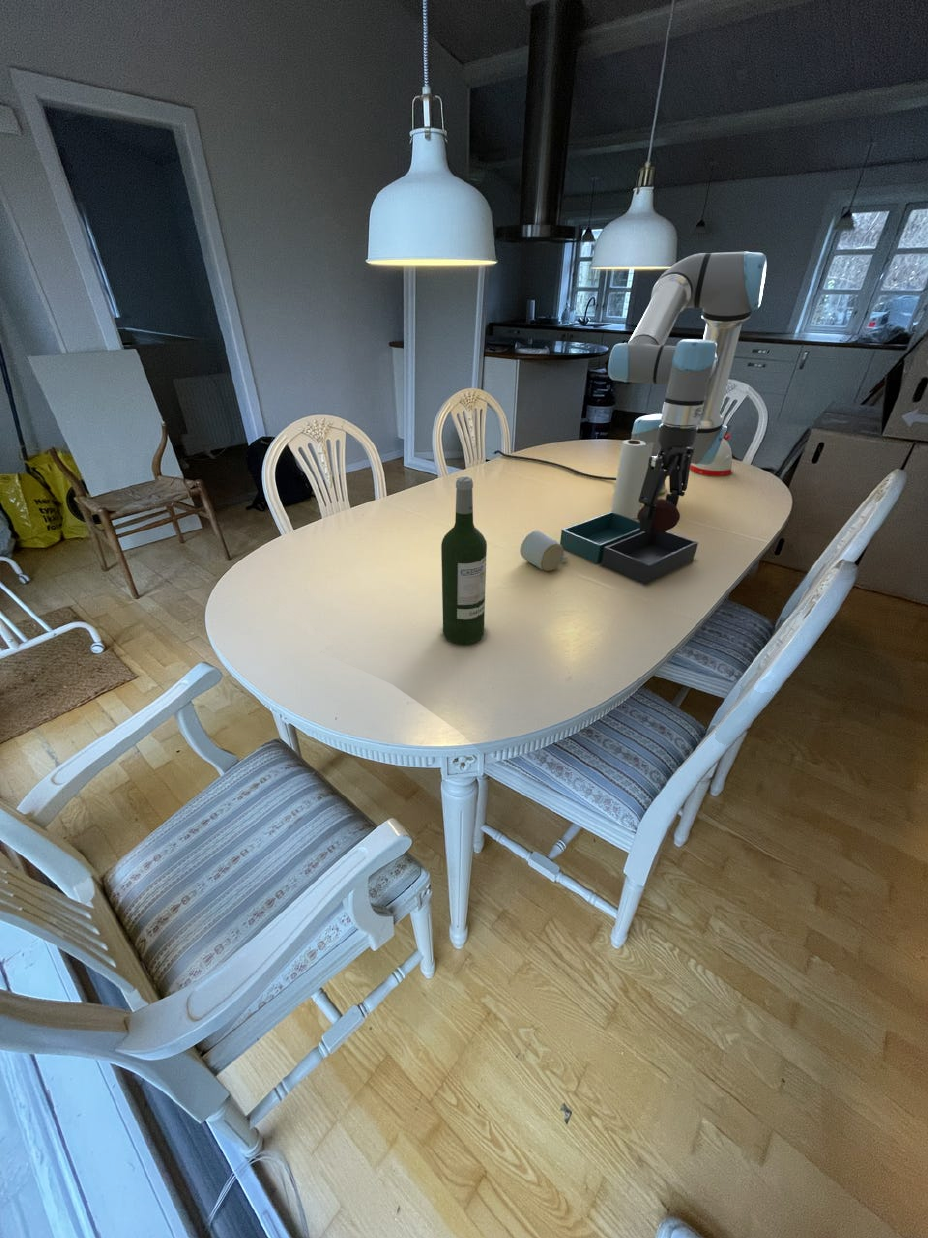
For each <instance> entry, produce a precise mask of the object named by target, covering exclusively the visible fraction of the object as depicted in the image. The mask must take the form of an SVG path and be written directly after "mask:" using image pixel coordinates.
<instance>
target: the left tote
mask: <svg viewBox="0 0 928 1238" xmlns="http://www.w3.org/2000/svg"><path fill="white" fill-rule="evenodd" d="M639 528H640V522H639V520H636V519H635V518H633V519H631V518H628V517H625V516H622V515H619V514H617V513H614V512H611V511H610V512H607V513H604V514H602V515H598V516H596V517H593V518H590V519H587V520H584V521H582V522H579V523H576V524H574V525H571V526H568V527H564V528H562V529H561V531H560V539H559V544H560V545H561V546H562V547H563V550H564V551H567V552H569V553H570V554H573V555H575V556H577V557H580V558H583V559H585V560H587V561H589V562H591V563H593V564H596V565H599V564H602V558H603V552H604V547H606V546H609V545H611V544H614V543H616V542H619V541H621V540H623V539H626V538H628V537H631V536H633V535H636V534H638V533H640V532H643V531H641V530H639Z"/></svg>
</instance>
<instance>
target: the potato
mask: <svg viewBox="0 0 928 1238" xmlns="http://www.w3.org/2000/svg"><path fill="white" fill-rule="evenodd" d="M655 505H657V508H656V513H655V517H654V522H653V526H652V532H665V531H668V532H669V531H670V530H672V529H674V528H675V527H676V526H677V525H678V523H679V521H680V520H681V513H680V511H679V509H678V507H677V508H676V506H675V505H674V504H672V503H671V502H669V501H667V500H666V498H665V499H664V498H657V501H656V503H655ZM643 508H644V505H643V506H641V509H640V510H639V512H638V514H637V517H636V518H637V521H639V522H640V523H641V518H642V513H643Z"/></svg>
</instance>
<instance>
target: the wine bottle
mask: <svg viewBox="0 0 928 1238" xmlns="http://www.w3.org/2000/svg"><path fill="white" fill-rule="evenodd" d="M455 488H456V489H455V491H456V492H455V518H454V519H455V520H454V521H455V523H454V526H453V527H452V528H451V529H450V530H448V531H447V532H446V533H445V534H444V536H443V537H442V539H441V545H440V551H441V552H440V555H441V556H440V557H441V558H440V559H441V560H440V561H441V595H442V596H441V601H442V602H441V605H442V634H443V637H444V638H445V639H446V640H447V641H448V642H450V643H452V644H455V645H461V646H467V645H472V644H476V643H478V642H479V641H480V640H482V638H483V637H484V635H485V616H486V615H485V613H486V610H485V609H486V589H487V588H486V586H487V585H486V582H487V554H488V553H487V552H488V543H487V540H486V538H485V536H484V534H483V533H482V532H481V531H480V530H479V529H478V528H476V527H475V523H474V499H473V488H474V481H473V478H472V477H470V476H459V477H457V478H456V481H455Z"/></svg>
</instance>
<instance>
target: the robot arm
mask: <svg viewBox="0 0 928 1238" xmlns="http://www.w3.org/2000/svg"><path fill="white" fill-rule="evenodd" d="M766 272H767V257H766V254H764V253H763V252H754V251H751V252H750V251H729V252H711V253H708V252H699V253H695V254H692V255H689V256H687V257H685V258H683V259H681V260H679V261H678V262H676V263H674V264H672V266H670V267H669V268H668V269H666V270H665V271H664V272H663V273H662V274H661V276H660V277H659V278H658V280H657V281H656V283H655V284H654V286H653V287H652V290H651V295H650V301H649V304H648V306H647V308H646V309H645V311H644V313H643V315H642V317H641V319H640V321H639V322H638V324H637V327H636V328H635V330H634V332H633V334H632V335H631V337H630V339H629V341H628V342H624V343H617V344H615V345H614V346H613V347H612V349H611V350H610V354H609V359H608V364H607V374H608V377H609V379H611V381H617V382H623V383H639V384H653V385H666V386H667V389H666V394H665V398H664V403H663V407H662V410H661V413H654V414H646V415H642V416H639V417H638V418H636V419H635V421H634V423H633V427H632V431H631V433H630V434H631V437H630V440H638V441H643V442H645V443H646V444H650V443H654V444H653V449H652V454H651V456H650V458H649V462H648V469H647V473H646V476H645V479H644V483H643V486H642V490H641V493H640V496H639V500H638V501H639V502H640V503H642V504H643V506H644V508H643V513H642V518H641V523H640V528H639V530H641V531H644V532H647V533H651V531H652V526H653V522H654V517H655V513H656V508H657V505H655V503H656V501H657V499H659V496H660V495H663V494H664V493H665V491H666V481H667V480H666V479H667V477H669V478H668V481H669V482H668V483H669V484H668V485H669V486H668V487H669V493H667V494H666V496H665V500H667V501H669V502H671V503H672V504H674V505H675V506H676V508H677V509H678V503H679V499H680V497H684V496H685V495H686V491H687V489H688V483H689V477H690V471H691V469H690V466H691V463H692V464H695V465H698V464H703V465H709V464H711V463H712V462H713V461H714V459H715V457H716V455H717V452H718V450H719V448H720V445H721V443H722V440H723V437H724V435H725V432H726V431H728V426H727V425H725V424H723V423H724V418H723V416H722V415H721V414H720V413H721V410H722V406H723V402H724V397H725V393H726V389H727V386H728V381H729V377H730V373H731V369H732V366H733V361H734V357H735V354H736V350H737V346H738V343H739V339H740V335H741V330H742V326H743V324H744V323H745V322H746V321H747V320H749V319H750V318H751V317H752V314H753V313H752V312H753V311H755V310H758V309H759V307H760V306H761V302H762V297H763V292H764V285H765V281H766ZM685 309H702V314H701V319H702V320H703V321H704V322H705V328H704V333H703V338H702V339H700V338H699V339H698V338H695V339H694V338H693V339H688V338H687V339H682V340H681V339H680V341H678V342H677V344H676V345H665V344H666V342H667V340H668V338H669V336H670V334H671V332H672V329H673V327H674V326H675V323H676V321H677V319H678V317H679V314H680V313H682V312H683V311H684V310H685ZM497 454H500V455H501V456H503V457H506V458H510V459H518V460H524V461H531V462H537V463H543V464H546V465H551V466H554V467H558V468H561V469H564V470H567V471H569V472H573V473H575V474H577V475H580V476H582V477H587V478H592V479H598V480H604V481H616V478H617V477H614V476H613V477H612V476H601V475H595V474H589V473H587V472H586V473H585V472H582V471H579V470H577V469H574V468H571V467H568V466H566V465H563V464H561V463H560V464H559V463H556V462H552V461H549V460H543V459H538V458H533V457H527V456H520V455H511V454H506V453H504V452H503V451H501V450H499V449H497V450H495V451H493V455H497Z"/></svg>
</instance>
